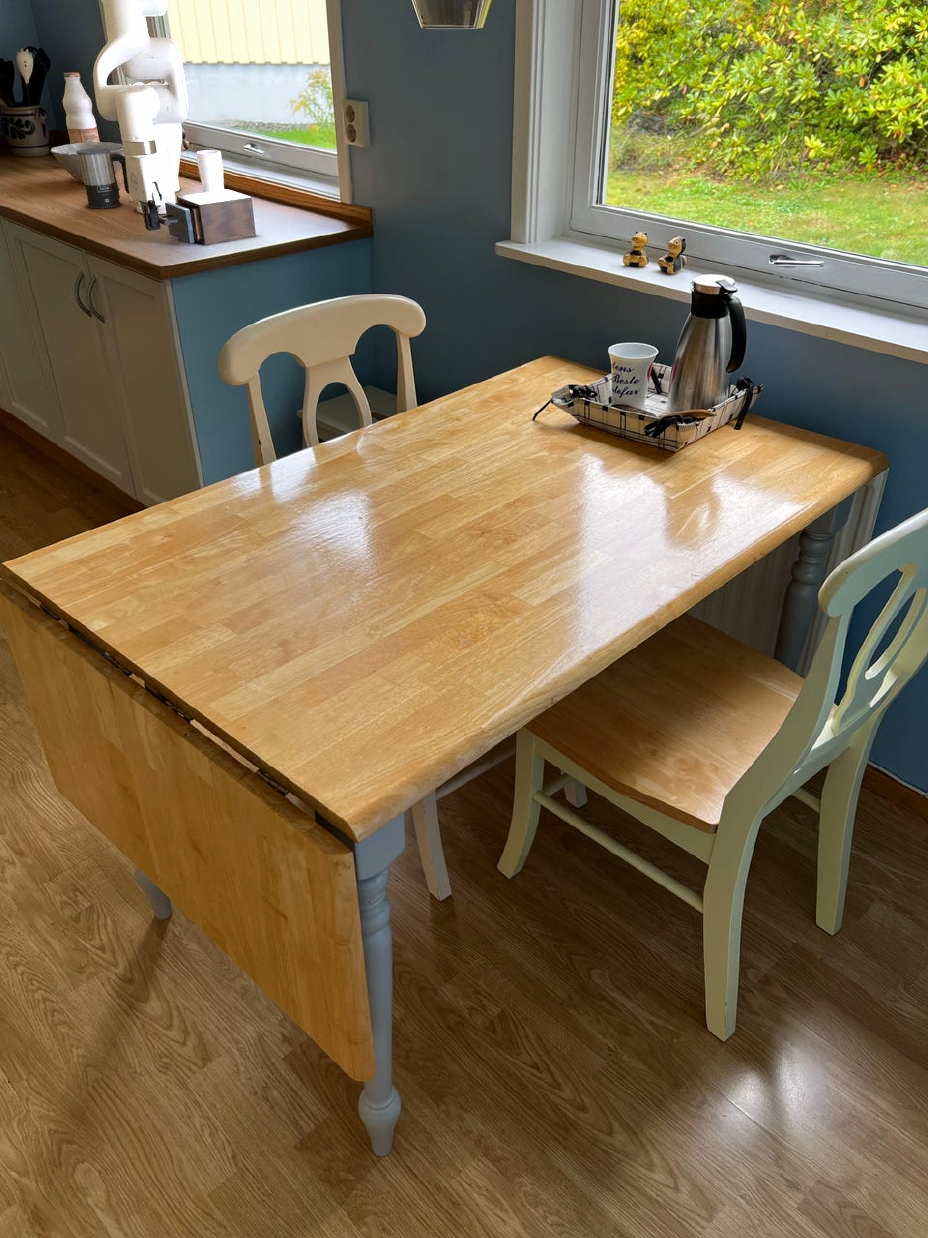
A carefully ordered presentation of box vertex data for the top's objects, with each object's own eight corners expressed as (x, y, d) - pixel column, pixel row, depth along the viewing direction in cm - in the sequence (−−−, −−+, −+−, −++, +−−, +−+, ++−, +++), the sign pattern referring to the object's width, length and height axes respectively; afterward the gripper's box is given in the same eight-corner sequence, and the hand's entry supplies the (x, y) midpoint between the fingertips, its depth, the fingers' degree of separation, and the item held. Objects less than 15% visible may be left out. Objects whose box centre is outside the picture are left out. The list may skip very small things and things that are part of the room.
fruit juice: (71, 168, 328) (52, 74, 312) (80, 163, 336) (61, 71, 320) (99, 168, 329) (81, 74, 313) (107, 163, 336) (90, 71, 320)
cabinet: (205, 245, 244) (199, 204, 239) (182, 235, 252) (176, 196, 247) (256, 236, 252) (251, 196, 247) (232, 227, 260) (227, 189, 255)
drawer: (171, 246, 240) (166, 212, 235) (151, 237, 247) (146, 204, 242) (238, 235, 250) (234, 202, 245) (216, 226, 257) (212, 195, 252)
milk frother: (98, 210, 276) (87, 153, 267) (68, 202, 284) (57, 147, 276) (141, 202, 285) (132, 147, 276) (111, 195, 293) (101, 141, 285)
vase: (173, 196, 292) (156, 87, 276) (132, 192, 296) (112, 84, 280) (200, 187, 303) (185, 81, 287) (160, 183, 308) (143, 79, 291)
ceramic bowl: (147, 179, 313) (141, 145, 308) (90, 191, 297) (83, 156, 292) (101, 172, 323) (94, 139, 317) (43, 183, 307) (35, 148, 301)
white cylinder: (205, 206, 281) (198, 149, 272) (229, 206, 281) (222, 149, 273) (202, 211, 275) (194, 153, 267) (226, 211, 276) (219, 153, 267)
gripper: (111, 145, 233) (126, 226, 243) (138, 154, 223) (152, 237, 234) (141, 142, 237) (154, 221, 247) (168, 150, 227) (181, 232, 238)
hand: (153, 229), depth 241 cm, fingers closed
